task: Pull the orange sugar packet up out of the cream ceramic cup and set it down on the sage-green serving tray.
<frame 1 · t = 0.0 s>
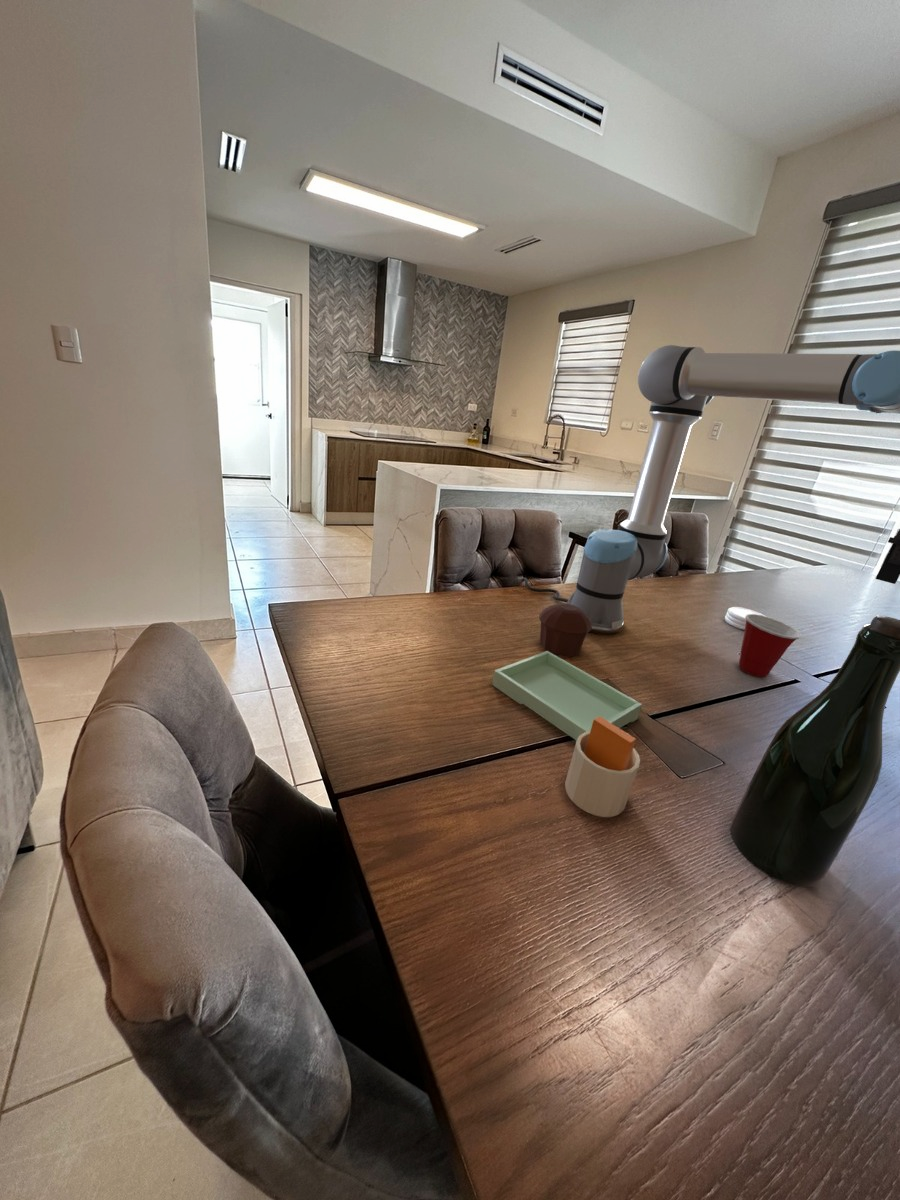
hand: (892, 576, 87), 28 cm above the table, tool pointing down, fingers open, 13 cm apart
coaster: (743, 625, 133), on the table
muffin: (559, 647, 107), on the table
beer bottle: (772, 853, 60), on the table
tray: (562, 701, 87), on the table
sugar cup: (593, 796, 66), on the table
plastic cup: (753, 671, 107), on the table
packet: (594, 792, 65), point 1 cm above the table, touching sugar cup
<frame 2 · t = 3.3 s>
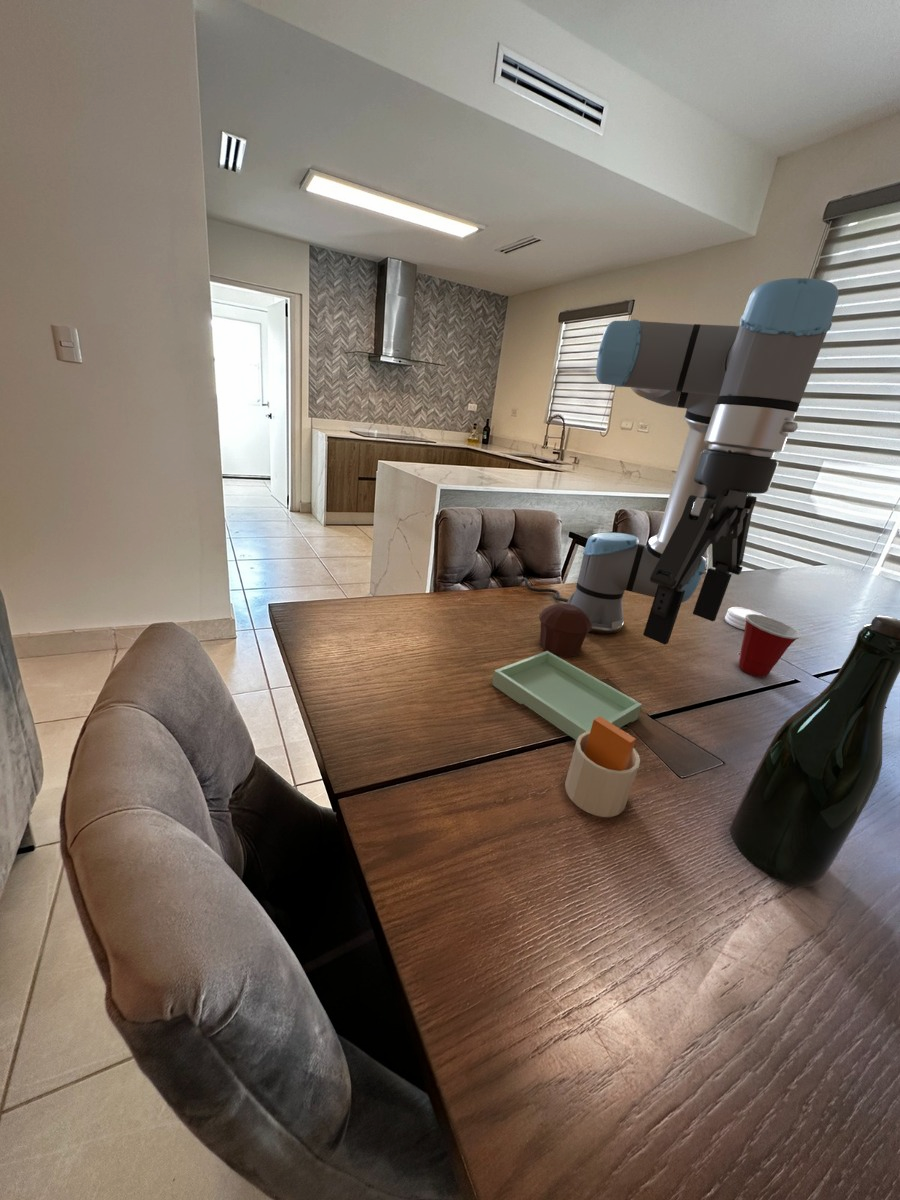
hand: (681, 627, 59), 26 cm above the table, tool pointing down, fingers open, 13 cm apart
nothing on the table moved.
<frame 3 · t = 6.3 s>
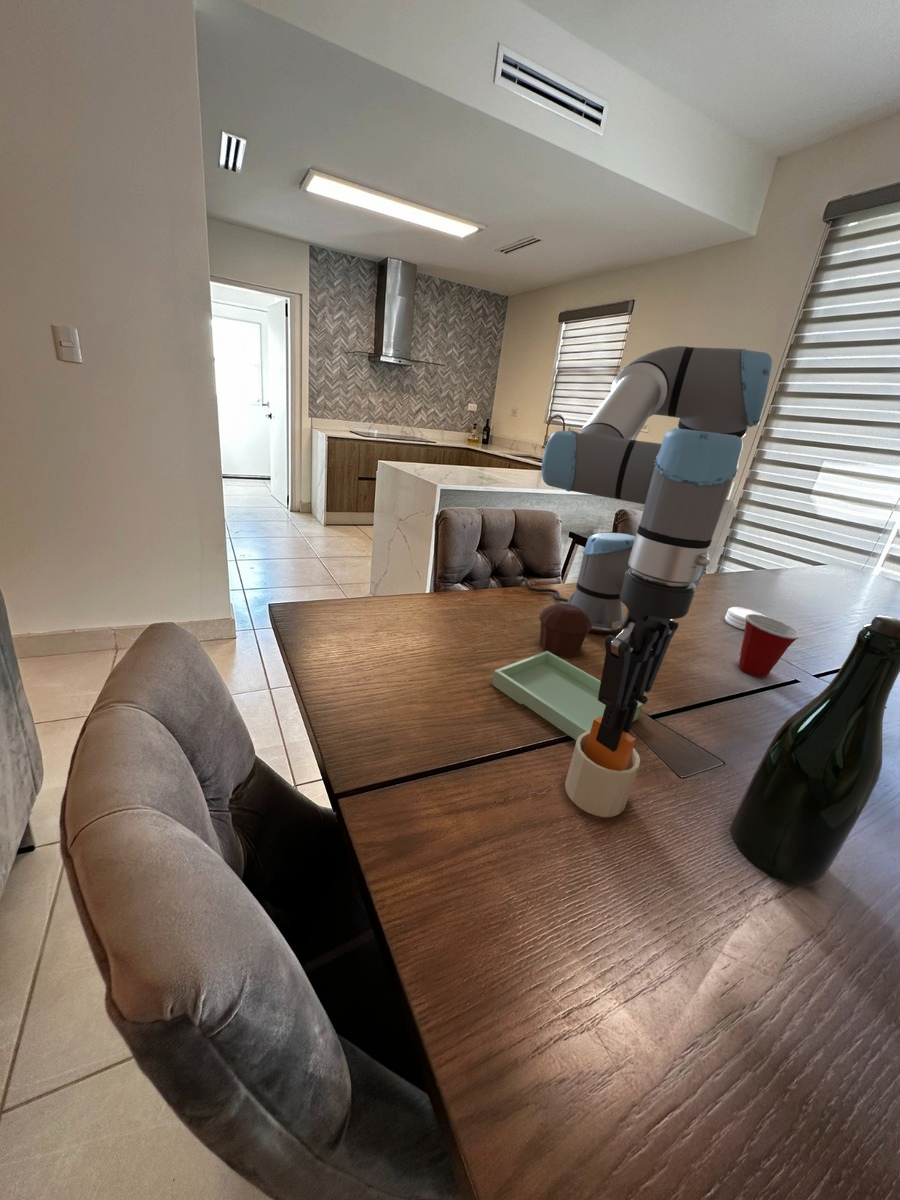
hand: (610, 741, 62), 9 cm above the table, tool pointing down, fingers closed on packet
packet: (595, 792, 65), point 1 cm above the table, touching gripper
everything else where it was.
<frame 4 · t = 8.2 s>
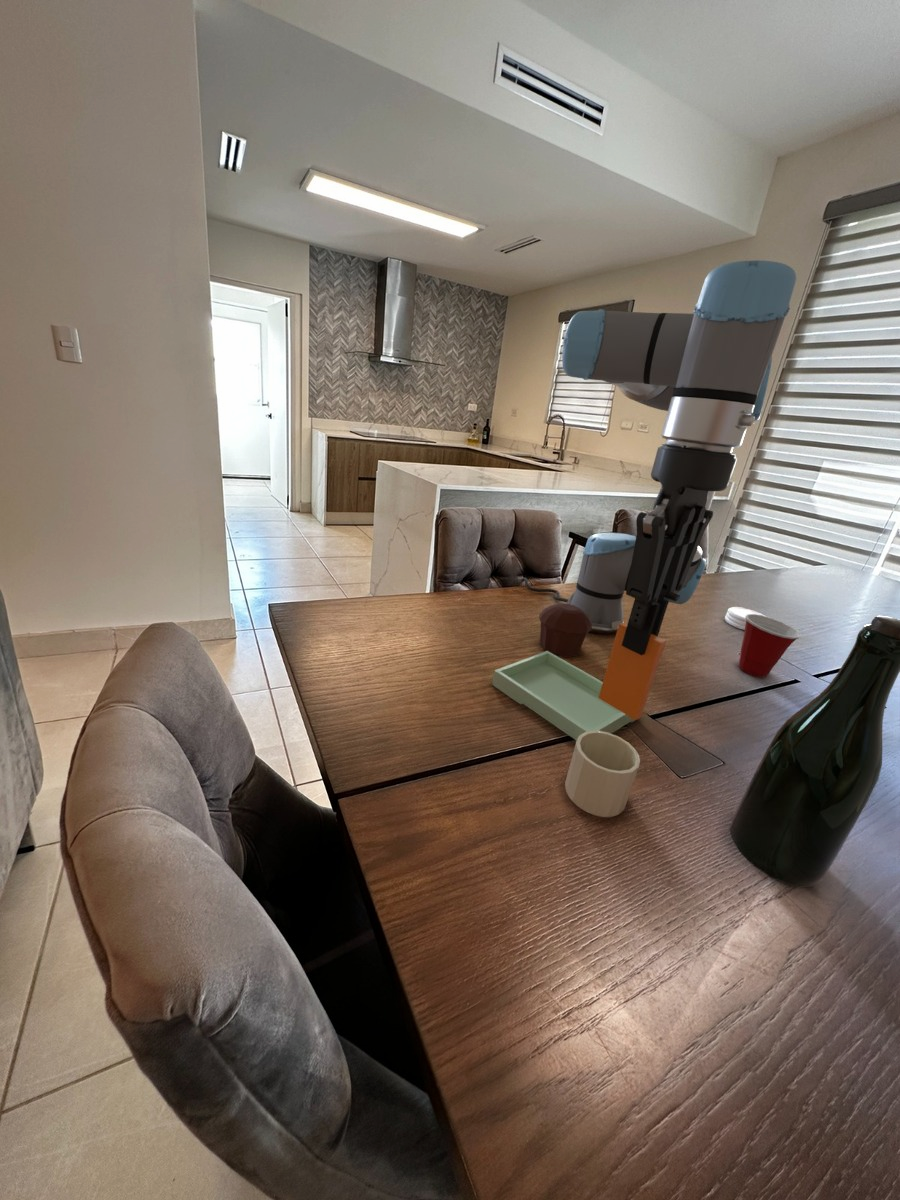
hand: (637, 647, 57), 23 cm above the table, tool pointing down, fingers closed on packet
packet: (619, 707, 61), point 14 cm above the table, touching gripper
everything else where it was.
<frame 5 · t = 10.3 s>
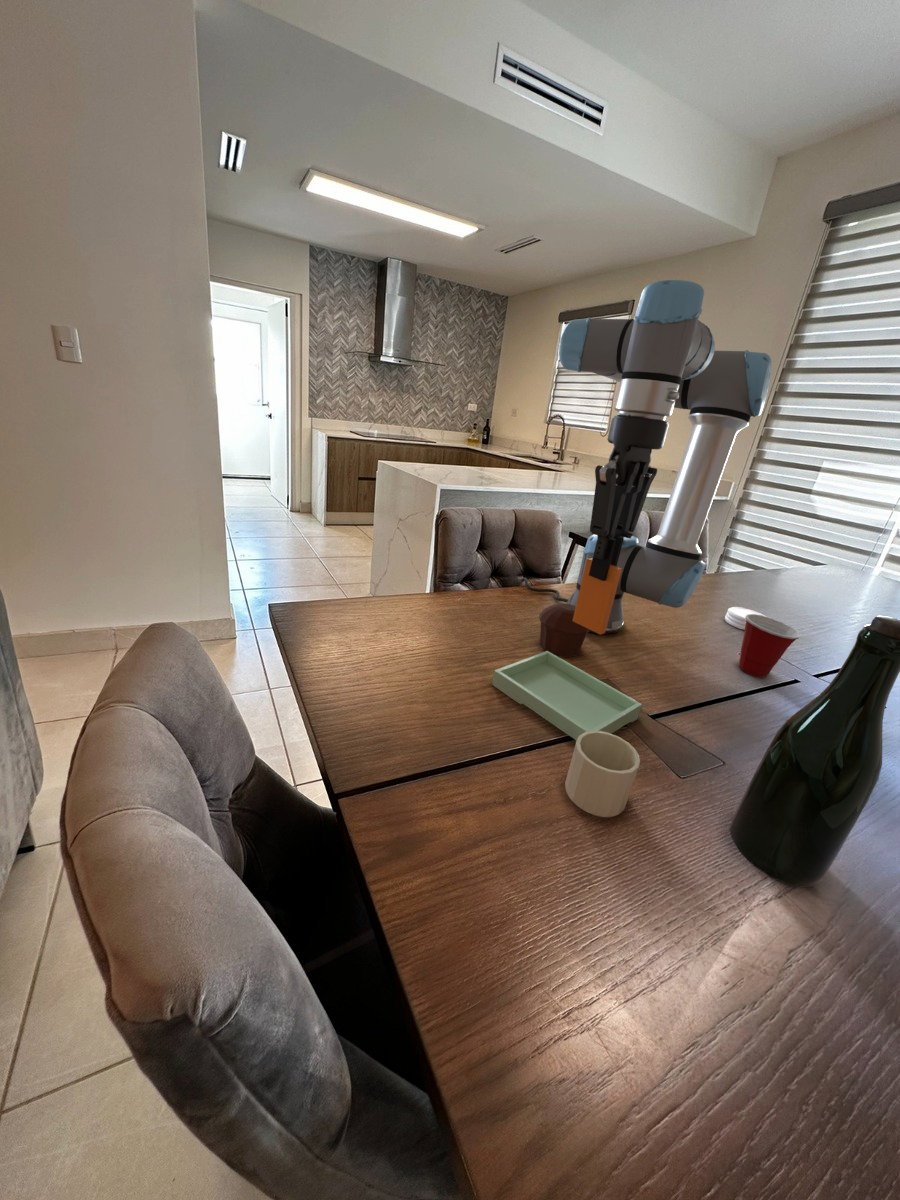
hand: (601, 576, 74), 26 cm above the table, tool pointing down, fingers closed on packet
packet: (588, 626, 77), point 17 cm above the table, touching gripper
everything else where it was.
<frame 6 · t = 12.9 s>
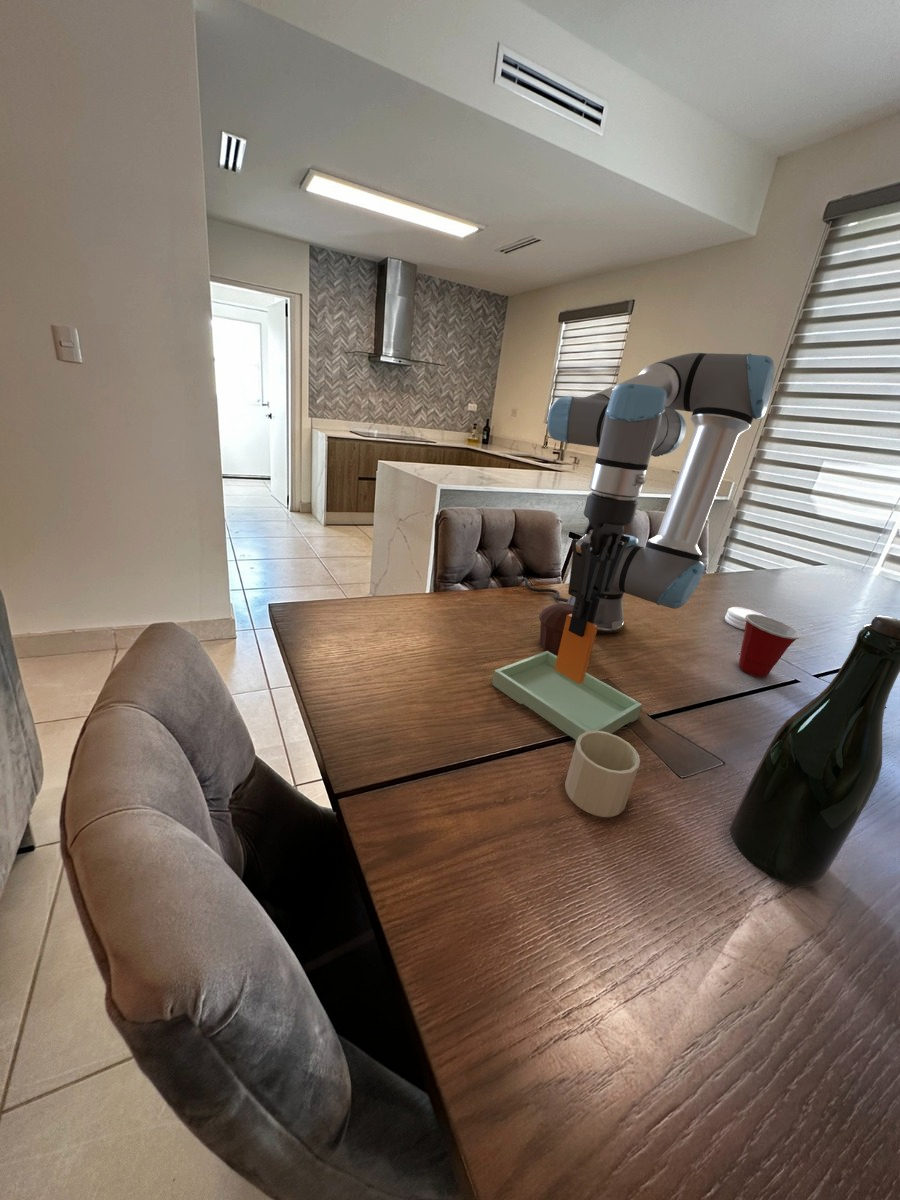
hand: (579, 631, 81), 14 cm above the table, tool pointing down, fingers closed on packet
packet: (568, 675, 84), point 6 cm above the table, touching gripper
everything else where it was.
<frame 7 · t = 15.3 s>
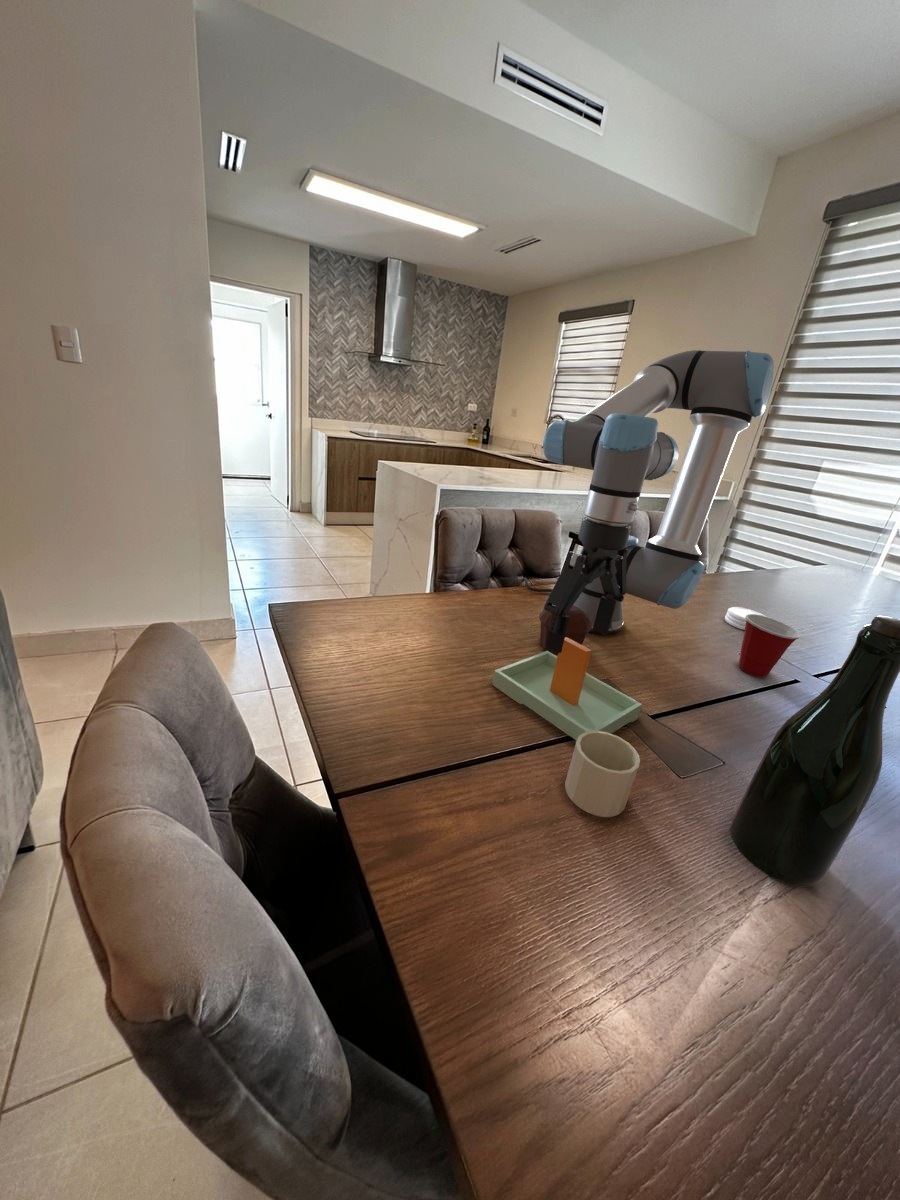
hand: (577, 640, 82), 13 cm above the table, tool pointing down, fingers open, 13 cm apart
packet: (563, 697, 86), point 1 cm above the table, touching tray
everything else where it was.
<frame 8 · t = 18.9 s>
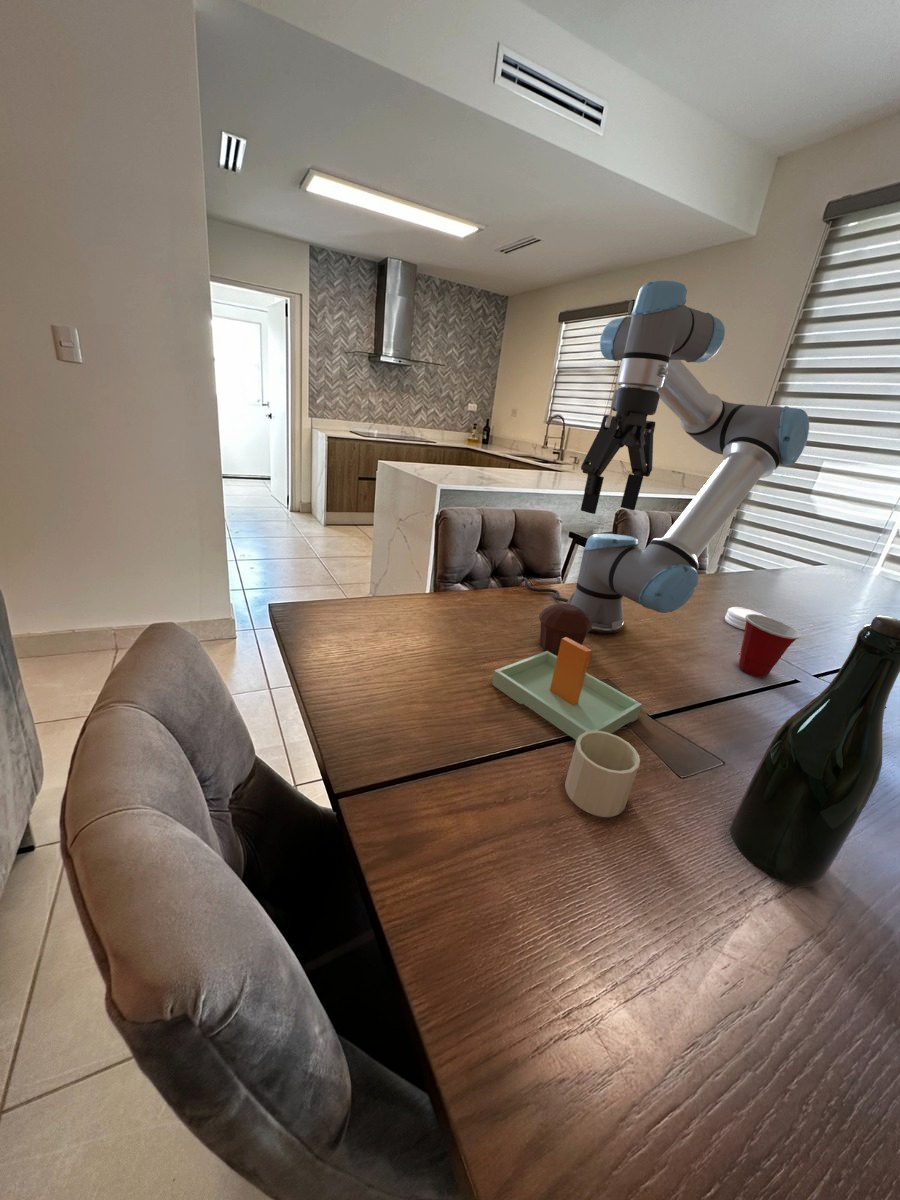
hand: (608, 510, 89), 33 cm above the table, tool pointing down, fingers open, 13 cm apart
nothing on the table moved.
at the end: packet inside the target area in the tray (0.1 cm from its centre), point 1.0 cm above the tray's base; the gripper is holding nothing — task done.
